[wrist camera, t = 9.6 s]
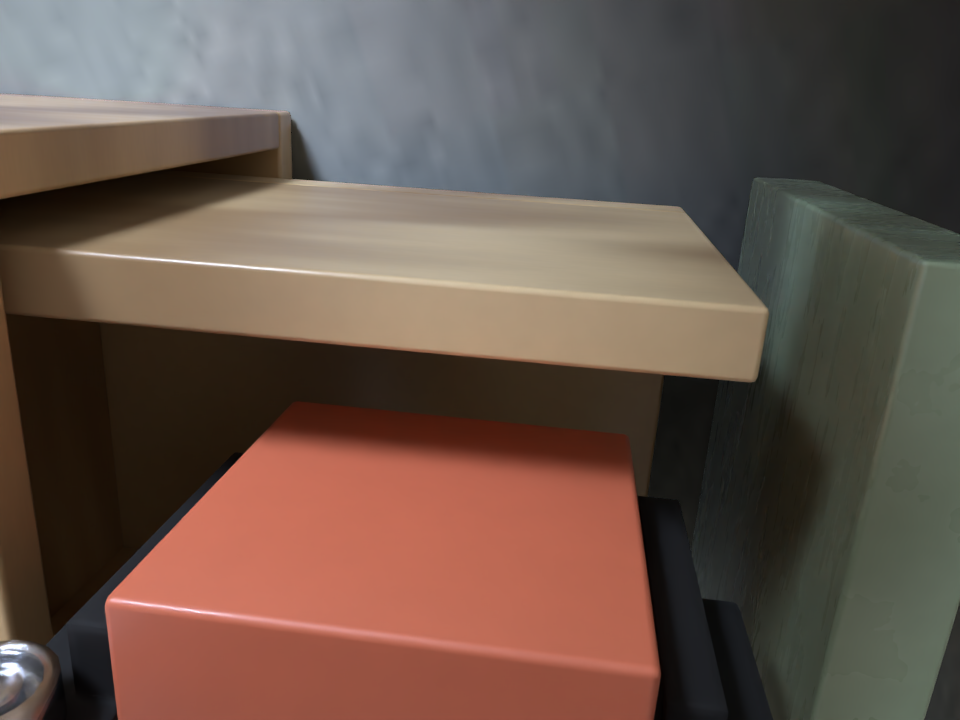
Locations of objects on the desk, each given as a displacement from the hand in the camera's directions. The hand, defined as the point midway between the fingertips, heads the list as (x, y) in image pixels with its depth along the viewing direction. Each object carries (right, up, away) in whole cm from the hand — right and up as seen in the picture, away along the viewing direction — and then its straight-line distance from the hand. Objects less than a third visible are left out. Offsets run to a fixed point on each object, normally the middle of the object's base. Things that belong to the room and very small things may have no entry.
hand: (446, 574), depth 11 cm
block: (0, 0, 0) cm, 0 cm away
